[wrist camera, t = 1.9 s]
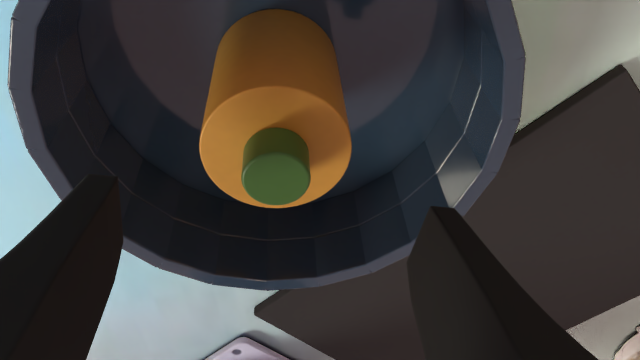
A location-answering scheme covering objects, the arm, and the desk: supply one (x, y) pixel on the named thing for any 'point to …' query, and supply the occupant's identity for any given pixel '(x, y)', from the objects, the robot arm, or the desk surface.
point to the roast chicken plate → (630, 348)
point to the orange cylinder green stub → (275, 112)
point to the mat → (513, 233)
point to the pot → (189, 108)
